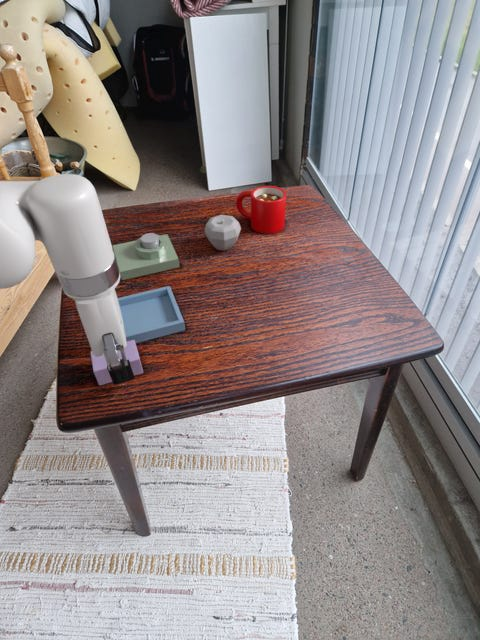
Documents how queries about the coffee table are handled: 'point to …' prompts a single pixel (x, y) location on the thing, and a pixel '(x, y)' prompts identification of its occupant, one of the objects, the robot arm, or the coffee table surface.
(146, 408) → the coffee table surface
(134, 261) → the green push button box
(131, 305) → the soap dish
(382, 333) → the coffee table surface
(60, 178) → the robot arm
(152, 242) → the grey push button
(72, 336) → the coffee table surface
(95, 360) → the soap bar
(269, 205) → the mug
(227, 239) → the apple
